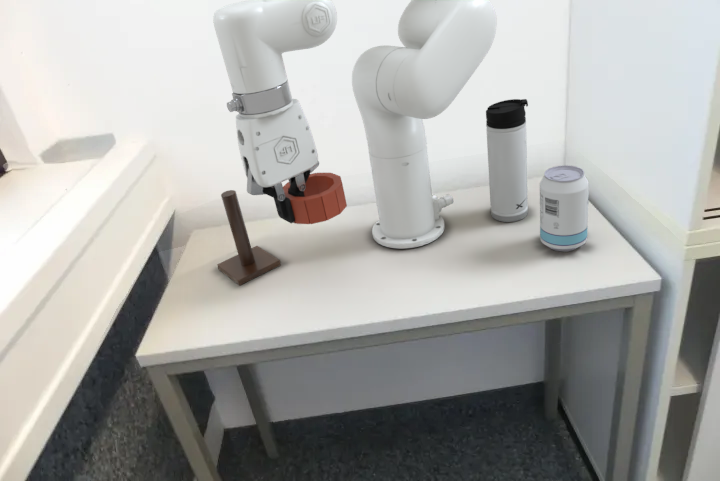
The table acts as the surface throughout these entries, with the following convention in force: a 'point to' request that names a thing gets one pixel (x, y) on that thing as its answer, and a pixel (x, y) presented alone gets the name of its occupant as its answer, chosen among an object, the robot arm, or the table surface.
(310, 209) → the hoop
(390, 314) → the table surface
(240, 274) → the stand
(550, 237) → the beverage can
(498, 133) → the travel mug
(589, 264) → the table surface
